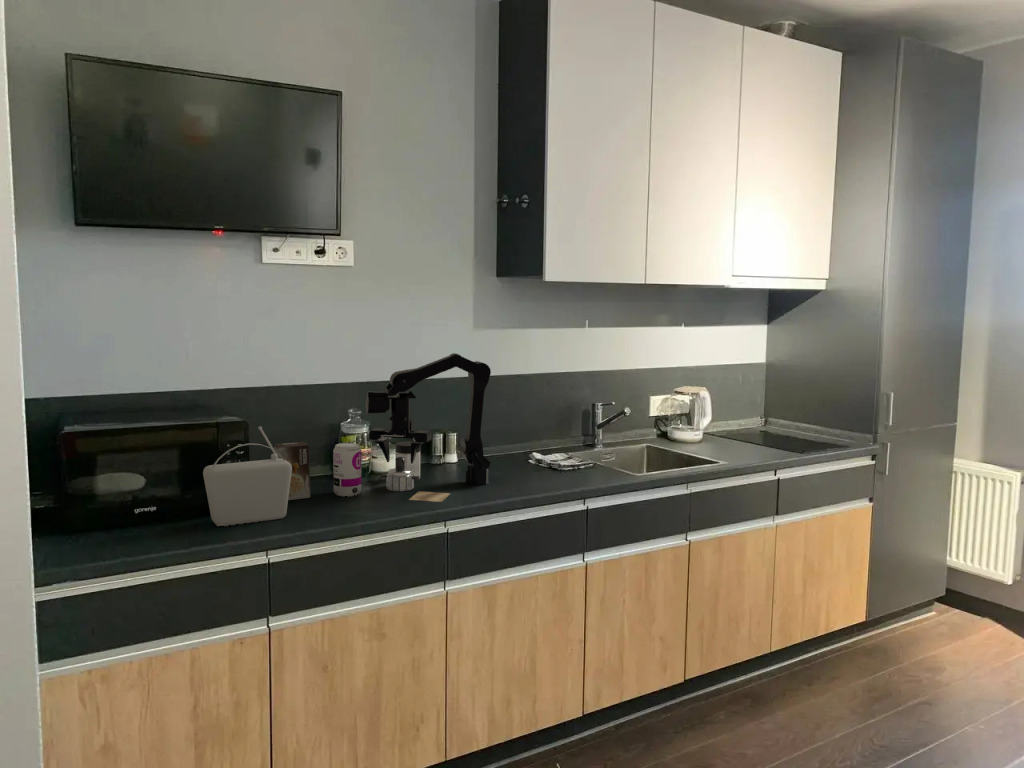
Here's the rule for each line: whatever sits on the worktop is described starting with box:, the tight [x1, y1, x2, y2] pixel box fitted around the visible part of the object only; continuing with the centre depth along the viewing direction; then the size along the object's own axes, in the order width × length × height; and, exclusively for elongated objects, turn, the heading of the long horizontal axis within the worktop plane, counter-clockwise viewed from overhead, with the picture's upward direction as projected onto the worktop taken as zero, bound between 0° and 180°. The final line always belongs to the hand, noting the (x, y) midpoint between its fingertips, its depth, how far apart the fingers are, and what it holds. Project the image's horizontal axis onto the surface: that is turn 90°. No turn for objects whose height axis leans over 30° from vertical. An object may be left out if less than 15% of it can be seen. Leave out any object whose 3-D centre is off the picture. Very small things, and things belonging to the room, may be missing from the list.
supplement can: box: [332, 442, 362, 497], centre depth 239 cm, size 8×8×15 cm
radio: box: [202, 425, 292, 527], centre depth 210 cm, size 22×8×25 cm, turn 123°
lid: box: [387, 457, 412, 477], centre depth 244 cm, size 7×7×5 cm
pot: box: [380, 473, 421, 492], centre depth 245 cm, size 12×8×5 cm
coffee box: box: [273, 441, 311, 501], centre depth 234 cm, size 9×6×16 cm
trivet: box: [408, 491, 451, 503], centre depth 235 cm, size 10×10×1 cm
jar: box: [394, 440, 422, 477], centre depth 259 cm, size 9×8×12 cm
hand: (400, 462), depth 244 cm, fingers open, 7 cm apart
